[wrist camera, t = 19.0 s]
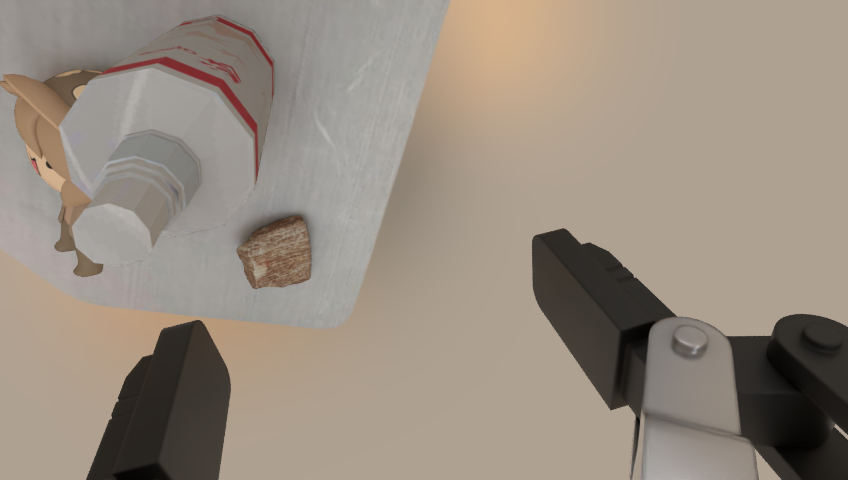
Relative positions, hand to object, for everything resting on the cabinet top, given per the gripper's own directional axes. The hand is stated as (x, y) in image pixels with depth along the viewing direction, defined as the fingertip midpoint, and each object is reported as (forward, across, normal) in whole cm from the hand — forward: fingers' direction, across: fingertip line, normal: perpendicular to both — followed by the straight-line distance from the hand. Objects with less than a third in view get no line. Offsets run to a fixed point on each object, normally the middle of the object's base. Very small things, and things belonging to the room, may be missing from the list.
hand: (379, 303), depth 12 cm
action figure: (+31, +18, +4) cm, 36 cm away
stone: (+31, +8, +16) cm, 36 cm away
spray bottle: (+31, +7, 0) cm, 32 cm away
